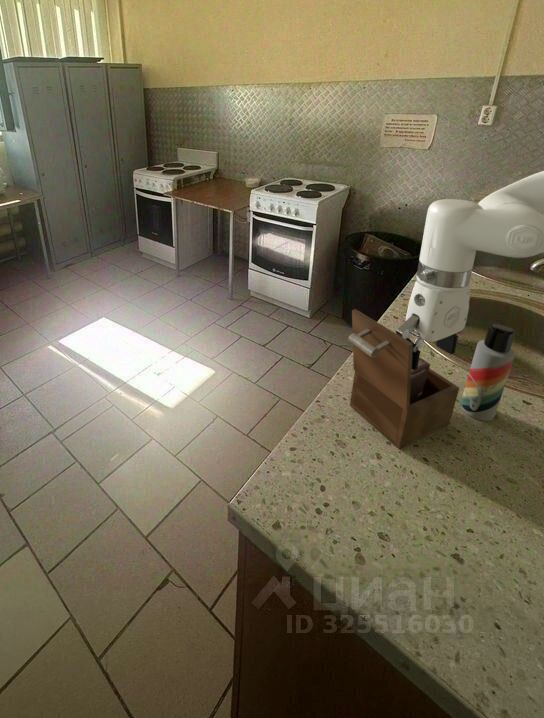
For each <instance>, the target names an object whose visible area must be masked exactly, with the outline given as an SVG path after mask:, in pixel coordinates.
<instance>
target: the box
mask: <svg viewBox="0 0 544 718" xmlns="http://www.w3.org/2000/svg"><path fill="white" fill-rule="evenodd" d="M430 367H431V363H429V362H428V361H426V360H425V359H423V358H422V357H419V362H418V367H417V369H416V370H412V369H411V388H410V405H411V404H413V403H415V402H418V401H420V399H421V395H422V392H423V388H424V384H425V381H426V378H427V374H428V371H429V368H430Z"/></svg>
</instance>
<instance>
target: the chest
mask: <svg viewBox="0 0 544 718" xmlns="http://www.w3.org/2000/svg"><path fill="white" fill-rule="evenodd" d="M351 387H352V388H351V394H350V401H349V407H351V408H352V409H353V410H354V411H355V412H356V413H357V414H358V415H359V416H360V417H362V418H363V419H364V420H365V421H366V422H368V424H369V425H370V426H372V427H373V428H374V429H375V430H377V432H378V433H380V434H381V435H382V436H383V437H384V438H385V439H386V440H387V441H389V443H390V444H392V445H393V446H394V447H395V448H396V449H397V450H401V449H402V448H405V447H407V446H409V445H410V444H412V443H414V442H417V441H419V440H421V439H422V438H425V437H426V436H428V435H430V434H432V433H434V432H436V431H438V430H440V429H442V428H444V427H446V426H448V425H450V423H451V419H452V416H453V414H454V410H455V406H456V403H457V398H458V394H459V391H460V386H458V385H456V384H455V383H453V382H452V381H450V380H449V379H447V378H445V377H444V376H443V375H441V374H440V373H438V372H436V371H435V370H433V369H432V368H430V367H429V371H428V374H427V378H426V381H425V384H424V388H423V392H422V395H421V399H420V401H418V402H415V403H413V404H411V405H410V406H409V409H408V410H405V409H404V408H402V407H401V406H400V405H398V404H397V403H396V402H395V401H393V400H392V399H391V398H389V397H388V396H387V395H386V394H384V393H383V392H382V391H380V390H379V389H378V388H377V387H375V386H374V385H373V384H371V383H370V382H369V381H368V380H366V379H365V378H364V377H362V376H361V375H360V374H359V373H357V372H356V371H355V370H354V374H353V380H352V386H351Z"/></svg>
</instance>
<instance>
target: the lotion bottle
mask: <svg viewBox="0 0 544 718" xmlns="http://www.w3.org/2000/svg"><path fill="white" fill-rule="evenodd" d="M515 334H516V330H515V328H513V327H510V326H508V325H504V324H502V323H498V322H489V324H488V328H487V331H486V334H485V336H484V339H483V340H480V341H478V342H477V345H476V347H475V351H474V354H473V358H472V360H471V364H470V368H469V371H468V375H467V379H466V382H465V385H464V389H463V393H462V396H461V400H460V407H461V409H462V411H463V412H464V413H465V414H466V415H468V416H469V417H471V418H473V419H476V420H479V421H483V422H490V421H492V420H494V418H495V416H496V414H497V411H498V408H499V405H500V402H501V399H502V396H503V393H504V390H505V387H506V384H507V382H508V378H509V376H510V375H509V374H510V372H511V369H512V366H513V363H514V361H515V355H516V354H515V352H514V350H513V349H512V345H513V342H514V338H515V336H516V335H515Z"/></svg>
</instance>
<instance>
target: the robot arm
mask: <svg viewBox="0 0 544 718" xmlns="http://www.w3.org/2000/svg"><path fill="white" fill-rule="evenodd" d="M477 251H479V252H484V253H488V254H492V255H498V256H502V257H507V258H514V259H522V258H531V257H535V256H537V255H539V254H542V253H543V252H544V170H541V171H539V172H536V173H533V174H531V175H529V176H526V177H524V178H522V179H521V178H520V179H519V180H517V181H515V182H513V183H510V184H508V185H506V186H504V187H502V188H499V189H498V190H496V191H493V192H491V193H490V194H488V195H486V196H484V197H483V198H482V199H481V200H480V201H478V203H477V202H474V201H470V200H465V199H459V198H442V199H437V200H435V201H433V202H432V203H431V204H430V205H428V209H427V212H426V218H425V223H424V228H423V236H422V241H421V248H420V253H419V259H418V264H417V265H418V266H417V271H416V277H415V278H416V280H415V283H414V285H413V288H412V292H411V294H410V297H409V301H408V304H407V310H406V315H405V320H404V321H403V323H401V324H400V325H399V327H397V328H396V330H395V333H396V334H398V335H399V336H401V337H403V338H404V339H406V340H408V341H409V342H411V343H413V350H412V370H416V369H417V367H418V362H419V357H420V356H421V350H419V349H420V347H422V345H423V343H424V342H426V343H434V342H435V346H436V347H437V348H439V349H441V350H442V351H444V352H445V353H447V354H449V355H453V354H455V353H456V348H457V343H458V339H459V335H461V333H462V331H463V330H464V329H465V327H466V324H467V319H468V314H469V313H470V310H471V309H470V300H471V276H472V272H473V267H474V263H475V258H476V254H477ZM416 330H418V331H416ZM413 335H414V336H415V337H416V339H415V341H414V342H413V341H412V340H411V338H412V336H413ZM420 358H421V357H420Z"/></svg>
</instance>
